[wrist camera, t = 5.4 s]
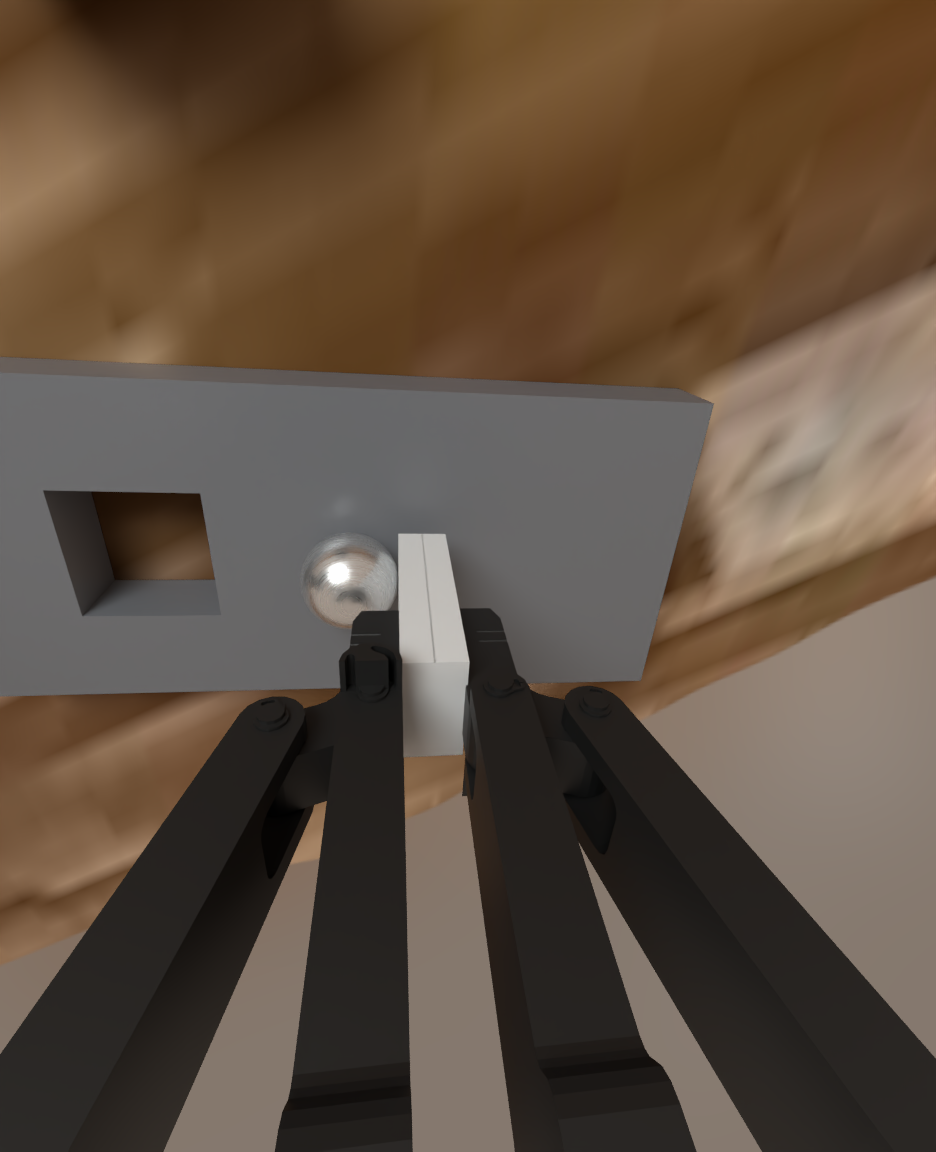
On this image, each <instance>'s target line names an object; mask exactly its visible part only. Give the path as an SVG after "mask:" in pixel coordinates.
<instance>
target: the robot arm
mask: <svg viewBox="0 0 936 1152" xmlns="http://www.w3.org/2000/svg"><path fill="white" fill-rule="evenodd" d="M339 675H340V693H338V694H337V695H336V696H335V697H334V698H332V699H330V700H328V701H327V702H324V703H321V704H319V705H316V706H312V707H308V708H303V706H302V705H301V704H300V703H299V702H297V701H296V700H294V699H291V698H287V697H269V698H265V699H261V700H258V701H256V702H255V703H253V704H251V705H249V706H247V707H246V708H245V709H244V710H243V711H242V712H241V713H240V714H239V716H238V717H237V719H236V720H235V722H234V723H233V724H232V726H231V727H230V729H229V730H228V732H227V733H226V734H225V736H224V737H223V739H222V740H221V741H220V743H219V744H218V746H217V747H216V749H215V750H214V751H213V753H212V754H211V756H210V757H209V759H208V760H207V761H206V763H205V764H204V766H203V767H202V768H201V770H200V771H199V773H198V774H197V776H196V777H195V778H194V780H193V781H192V783H191V784H190V786H189V787H188V788H187V790H186V791H185V793H184V794H183V795H182V797H181V798H180V800H179V801H178V803H177V804H176V805H175V807H174V808H173V810H172V811H171V813H170V814H169V815H168V817H167V818H166V820H165V821H164V822H163V824H162V825H161V827H160V828H159V830H158V831H157V832H156V834H155V835H154V837H153V838H152V840H151V841H150V842H149V844H148V845H147V847H146V848H145V849H144V851H143V852H142V854H141V855H140V857H139V858H138V859H137V861H136V862H135V864H134V865H133V867H132V868H131V869H130V871H129V872H128V874H127V875H126V876H125V878H124V879H123V881H122V882H121V884H120V885H119V886H118V888H117V889H116V891H115V892H114V894H113V895H112V896H111V898H110V899H109V901H108V902H107V903H106V905H105V906H104V908H103V909H102V911H101V912H100V913H99V915H98V916H97V918H96V919H95V921H94V922H93V923H92V925H91V926H90V928H89V929H88V930H87V932H86V933H85V935H84V936H83V938H82V939H81V940H80V942H79V943H78V945H77V946H76V948H75V949H74V950H73V952H72V953H71V955H70V956H69V958H68V959H67V961H66V962H65V963H64V965H63V966H62V968H61V969H60V970H59V972H58V973H57V975H56V976H55V978H54V979H53V980H52V982H51V983H50V985H49V986H48V987H47V989H46V990H45V992H44V993H43V994H42V996H41V997H40V999H39V1000H38V1002H37V1003H36V1004H35V1006H34V1007H33V1009H32V1010H31V1011H30V1013H29V1014H28V1016H27V1017H26V1019H25V1020H24V1021H23V1023H22V1024H21V1026H20V1027H19V1029H18V1030H17V1031H16V1033H15V1034H14V1036H13V1037H12V1039H11V1040H10V1041H9V1043H8V1044H7V1046H6V1047H5V1048H4V1050H3V1051H2V1053H1V1054H0V1152H163V1151H164V1149H165V1147H166V1144H167V1142H168V1140H169V1137H170V1135H171V1133H172V1130H173V1128H174V1126H175V1124H176V1121H177V1119H178V1117H179V1115H180V1112H181V1110H182V1108H183V1106H184V1103H185V1101H186V1099H187V1096H188V1094H189V1092H190V1090H191V1087H192V1085H193V1083H194V1080H195V1078H196V1076H197V1073H198V1071H199V1069H200V1067H201V1065H202V1062H203V1060H204V1057H205V1055H206V1053H207V1051H208V1048H209V1046H210V1044H211V1042H212V1040H213V1037H214V1035H215V1033H216V1030H217V1028H218V1026H219V1023H220V1021H221V1019H222V1016H223V1014H224V1012H225V1010H226V1008H227V1005H228V1003H229V1001H230V999H231V996H232V994H233V992H234V989H235V987H236V985H237V982H238V980H239V978H240V976H241V974H242V971H243V969H244V967H245V964H246V962H247V960H248V957H249V955H250V953H251V951H252V948H253V946H254V944H255V941H256V939H257V937H258V935H259V933H260V930H261V928H262V926H263V923H264V921H265V919H266V917H267V914H268V912H269V910H270V907H271V905H272V903H273V900H274V898H275V896H276V894H277V891H278V889H279V887H280V885H281V882H282V880H283V878H284V876H285V873H286V871H287V869H288V866H289V864H290V862H291V860H292V857H293V855H294V853H295V851H296V848H297V846H298V844H299V841H300V839H301V837H302V835H303V832H304V830H305V828H306V826H307V823H308V821H309V819H310V816H311V814H312V812H313V807H314V805H315V804H318V803H321V802H324V801H327V805H326V813H325V821H324V829H323V837H322V845H321V853H320V861H319V869H318V877H317V885H316V893H315V902H314V909H313V917H312V925H311V933H310V941H309V949H308V957H307V965H306V973H305V981H304V989H303V997H302V1005H301V1013H300V1021H299V1029H298V1037H297V1045H296V1053H295V1061H294V1069H293V1077H292V1083H291V1089H290V1094H289V1099H288V1101H287V1103H286V1105H285V1107H284V1110H283V1112H282V1117H281V1121H280V1125H279V1129H278V1136H277V1142H276V1148H275V1152H413V1151H412V1150H413V1149H412V1109H411V1089H410V1088H411V1087H410V1053H409V1002H408V953H407V903H406V852H405V801H404V757H422V756H444V755H463V742H464V749H465V768H464V781H463V794H462V796H467V797H468V805H469V812H470V820H471V827H472V834H473V842H474V849H475V856H476V864H477V871H478V879H479V886H480V894H481V901H482V909H483V915H484V924H485V931H486V938H487V946H488V953H489V961H490V968H491V975H492V983H493V990H494V998H495V1004H496V1012H497V1020H498V1027H499V1035H500V1042H501V1050H502V1057H503V1064H504V1072H505V1079H506V1086H507V1094H508V1101H509V1108H510V1116H511V1124H512V1131H513V1139H514V1148H515V1152H696V1149H695V1146H694V1143H693V1140H692V1137H691V1135H690V1132H689V1128H688V1125H687V1123H686V1120H685V1117H684V1114H683V1111H682V1108H681V1105H680V1102H679V1100H678V1097H677V1095H676V1092H675V1090H674V1087H673V1085H672V1082H671V1080H670V1079H669V1077H668V1075H667V1074H666V1072H665V1070H664V1069H663V1067H662V1066H661V1065H660V1064H659V1063H658V1062H656V1061H655V1060H654V1059H652V1058H651V1057H650V1056H649V1055H648V1053H647V1051H646V1050H645V1048H644V1045H643V1043H642V1040H641V1038H640V1035H639V1032H638V1029H637V1025H636V1022H635V1019H634V1016H633V1013H632V1010H631V1007H630V1003H629V1000H628V997H627V994H626V991H625V988H624V984H623V981H622V978H621V975H620V972H619V969H618V966H617V963H616V959H615V956H614V954H613V950H612V947H611V943H610V940H609V937H608V934H607V931H606V928H605V925H604V922H603V918H602V915H601V912H600V909H599V906H598V903H597V899H596V896H595V893H594V890H593V887H592V883H591V880H590V877H589V874H588V871H587V868H586V865H585V862H584V859H583V855H582V852H581V849H580V846H579V843H580V845H581V847H582V848H583V850H584V852H585V854H586V855H587V857H588V859H589V860H590V862H591V863H592V865H593V867H594V869H595V870H596V872H597V874H598V875H599V877H600V879H601V881H602V882H603V884H604V886H605V887H606V889H607V891H608V892H609V894H610V896H611V897H612V899H613V901H614V902H615V904H616V906H617V907H618V909H619V911H620V912H621V914H622V916H623V918H624V919H625V921H626V923H627V924H628V926H629V928H630V929H631V931H632V933H633V935H634V936H635V938H636V940H637V941H638V943H639V944H640V946H641V948H642V949H643V951H644V953H645V955H646V956H647V958H648V959H649V962H650V963H651V965H652V967H653V968H654V970H655V972H656V973H657V975H658V977H659V978H660V980H661V982H662V983H663V985H664V987H665V989H666V990H667V992H668V994H669V995H670V997H671V999H672V1000H673V1002H674V1003H675V1005H676V1007H677V1009H678V1010H679V1012H680V1014H681V1015H682V1017H683V1019H684V1020H685V1022H686V1024H687V1025H688V1027H689V1029H690V1030H691V1032H692V1034H693V1036H694V1037H695V1039H696V1041H697V1042H698V1044H699V1046H700V1048H701V1049H702V1051H703V1053H704V1054H705V1056H706V1058H707V1059H708V1061H709V1063H710V1064H711V1066H712V1068H713V1069H714V1071H715V1073H716V1075H717V1076H718V1078H719V1080H720V1081H721V1083H722V1085H723V1086H724V1088H725V1089H726V1091H727V1093H728V1095H729V1096H730V1098H731V1100H732V1101H733V1103H734V1105H735V1107H736V1108H737V1110H738V1112H739V1113H740V1115H741V1117H742V1118H743V1120H744V1122H745V1123H746V1125H747V1127H748V1128H749V1130H750V1132H751V1133H752V1135H753V1137H754V1138H755V1140H756V1142H757V1144H758V1145H759V1147H760V1149H761V1150H762V1152H936V1058H934V1056H933V1055H932V1054H931V1053H930V1052H929V1051H928V1049H927V1048H926V1047H925V1046H924V1045H923V1044H922V1042H921V1041H920V1040H919V1039H918V1038H917V1037H916V1036H915V1034H914V1033H913V1032H912V1031H911V1030H910V1029H909V1028H908V1026H907V1025H906V1024H905V1023H904V1022H903V1021H902V1020H901V1019H900V1017H899V1016H898V1015H897V1014H896V1013H895V1012H894V1011H893V1009H892V1008H891V1007H890V1006H889V1005H888V1004H887V1003H886V1001H885V1000H884V999H883V998H882V997H881V996H880V995H879V993H878V992H877V991H876V990H875V989H874V988H873V987H872V986H871V984H870V983H869V982H868V981H867V980H866V979H865V978H864V976H863V975H862V974H861V973H860V972H859V971H858V970H857V968H856V967H855V966H854V965H853V964H852V963H851V962H850V960H849V959H848V958H847V957H846V956H845V955H844V954H843V953H842V951H841V950H840V949H839V948H838V947H837V946H836V944H835V943H834V942H833V941H832V940H831V939H830V938H829V936H828V935H827V934H826V933H825V932H824V931H823V930H822V929H821V927H820V926H819V925H818V924H817V923H816V922H815V921H814V920H813V918H812V917H811V916H810V915H809V914H808V913H807V911H806V910H805V909H804V908H803V907H802V906H801V905H800V903H799V902H798V901H797V900H796V899H795V898H794V897H793V895H792V894H791V893H790V892H789V891H788V890H787V889H786V888H785V886H784V885H783V884H782V883H781V882H780V881H779V880H778V878H777V877H776V876H775V875H774V874H773V873H772V872H771V870H770V869H769V868H768V867H767V866H766V865H765V864H764V862H762V860H761V859H760V858H759V857H758V856H757V854H756V853H755V852H754V851H753V850H752V849H751V848H750V847H749V845H748V844H747V843H746V842H745V841H744V840H743V839H742V837H741V836H740V835H739V834H738V833H737V832H736V831H735V829H734V828H733V827H732V826H731V825H730V824H729V823H728V821H727V820H726V819H725V818H724V817H723V816H722V815H721V814H720V812H719V811H718V810H717V809H716V808H715V807H714V805H713V804H712V803H711V802H710V801H709V800H708V799H707V797H706V796H705V795H704V794H703V793H702V792H701V791H700V790H699V788H698V787H697V786H696V785H695V784H694V783H693V782H692V781H691V779H690V778H689V777H688V776H687V775H686V773H684V771H683V770H682V769H681V768H680V767H679V766H678V764H677V763H676V762H675V761H674V760H673V759H672V758H671V756H669V754H668V753H667V752H666V751H665V750H664V749H663V747H662V746H661V745H660V744H659V743H658V742H657V741H656V739H655V738H654V737H653V736H652V735H651V734H650V732H649V731H648V730H647V729H646V728H645V727H644V726H643V725H642V723H641V722H640V721H639V720H638V719H637V718H636V717H635V715H634V714H633V713H632V712H631V711H630V710H629V709H628V707H627V706H626V705H625V704H624V703H623V702H622V701H621V700H620V699H619V698H618V697H617V696H616V695H614V694H613V693H611V692H609V691H607V690H605V689H603V688H598V687H593V686H582V687H577V688H575V689H572V690H571V691H570V692H569V693H568V694H567V695H566V697H565V700H563V699H558V698H553V697H548V696H544V695H541V694H538V693H536V692H534V691H532V690H530V688H529V686H528V684H527V682H526V681H525V679H523V678H522V677H521V676H519V675H518V674H517V672H516V668H515V665H514V662H513V658H512V655H511V652H510V648H509V645H508V642H507V638H506V635H505V632H504V628H503V625H502V622H501V618H500V617H499V616H498V615H497V614H496V613H495V612H493V611H492V610H491V609H490V608H459V604H458V598H457V593H456V588H455V582H454V577H453V572H452V566H451V561H450V556H449V551H448V545H447V540H446V535H445V534H398V610H391V611H361V612H360V613H359V615H358V616H357V617H356V618H355V619H354V621H353V623H352V631H351V640H350V648H349V649H348V650H346V651H345V652H344V653H343V654H342V655H341V657H340V660H339Z"/></svg>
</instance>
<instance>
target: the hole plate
mask: <svg viewBox="0 0 936 1152" xmlns="http://www.w3.org/2000/svg"><path fill="white" fill-rule="evenodd" d="M713 405H714V404H713V403H711V402H709V401H706V400H704V399H702V398H699V397H697V396H695V395H692V394H690V393H688V392H685V391H683V390H681V389H675V388H653V387H632V386H611V385H589V384H568V383H547V382H525V381H504V380H483V379H461V378H440V377H418V376H397V375H376V374H354V373H333V372H312V371H290V370H269V369H248V368H226V367H205V366H184V365H162V364H141V363H119V362H98V361H77V360H55V359H34V358H13V357H0V696H36V695H77V694H118V693H159V692H200V691H240V690H281V689H322V688H340V675H339V660H340V657H341V655H342V654H343V653H344V652H345V651H346V650H348V649H349V648H350V640H351V631H352V629H341V628H336V627H333V626H330V625H328V624H326V623H324V622H323V621H321V620H320V619H318V618H317V617H316V616H315V615H314V614H313V613H312V612H311V611H310V609H309V608H308V606H307V605H306V603H305V601H304V599H303V596H302V593H301V588H300V574H301V569H302V566H303V563H304V561H305V559H306V557H307V555H308V554H309V552H310V551H311V550H312V549H313V548H314V547H315V546H316V545H317V544H318V543H319V542H321V541H322V540H324V539H326V538H328V537H330V536H332V535H335V534H340V533H347V532H349V533H360V534H363V535H367V536H369V537H371V538H373V539H375V540H377V541H378V542H379V543H381V544H382V545H383V546H384V547H385V548H386V549H387V550H388V551H389V553H390V554H391V555H392V557H393V559H394V561H395V564H396V566H397V570H398V534H445V535H446V540H447V545H448V551H449V556H450V561H451V566H452V572H453V577H454V582H455V588H456V593H457V598H458V604H459V608H490V609H491V610H492V611H493V612H495V613H496V614H497V615H498V616H499V617H500V618H501V622H502V625H503V628H504V632H505V635H506V638H507V642H508V645H509V648H510V652H511V655H512V658H513V662H514V665H515V668H516V672H517V674H518V675H519V676H521V677H522V678H523V679H525V681H526V682H527V683H567V682H607V681H641V677H642V673H643V670H644V666H645V662H646V658H647V655H648V651H649V647H650V643H651V639H652V636H653V632H654V628H655V624H656V621H657V617H658V613H659V609H660V605H661V602H662V598H663V594H664V590H665V587H666V583H667V579H668V575H669V571H670V568H671V564H672V560H673V556H674V552H675V549H676V545H677V541H678V537H679V534H680V530H681V526H682V522H683V518H684V515H685V511H686V507H687V503H688V500H689V496H690V492H691V488H692V484H693V481H694V477H695V473H696V469H697V466H698V462H699V458H700V454H701V450H702V447H703V443H704V439H705V435H706V431H707V428H708V424H709V420H710V416H711V413H712V409H713ZM91 491H100V492H152V493H200V495H201V501H202V507H203V513H204V519H205V524H206V530H207V536H208V542H209V547H210V553H211V559H212V565H213V571H214V576H215V580H115V578H114V575H113V571H112V567H111V564H110V560H109V556H108V552H107V549H106V545H105V541H104V538H103V534H102V530H101V526H100V523H99V519H98V515H97V512H96V508H95V504H94V500H93V497H92V493H91ZM391 610H398V591H397V595H396V598H395V600H394V602H393V604H392V606H391V608H390V609H389V610H388V611H391Z"/></svg>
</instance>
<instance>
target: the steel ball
mask: <svg viewBox="0 0 936 1152" xmlns="http://www.w3.org/2000/svg"><path fill="white" fill-rule="evenodd" d="M300 588H301V593H302V596H303V599H304V601H305V603H306V605H307V606H308V608H309V609H310V611H311V612H312V613H313V614H314V615H315V616H316V617H317V618H318V619H320V620H321V621H323V622H324V623H326V624H328V625H330V626H333V627H336V628H341V629H352V623H353V621H354V619H355V618H356V617H357V616H358V615H359V613H360V612H361V611H388V610H389V609H390V608H391V606H392V604H393V602H394V600H395V598H396V595H397V591H398V570H397V566H396V564H395V561H394V559H393V557H392V555H391V554H390V553H389V551H388V550H387V549H386V548H385V547H384V546H383V545H382V544H381V543H379V542H378V541H377V540H375V539H373V538H371V537H369V536H367V535H363V534H360V533H349V532H347V533H340V534H335V535H332V536H330V537H328V538H326V539H324V540H322V541H321V542H319V543H318V544H317V545H316V546H315V547H314V548H313V549H312V550H311V551H310V552H309V554H308V555H307V557H306V559H305V561H304V563H303V566H302V569H301V574H300Z"/></svg>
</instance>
